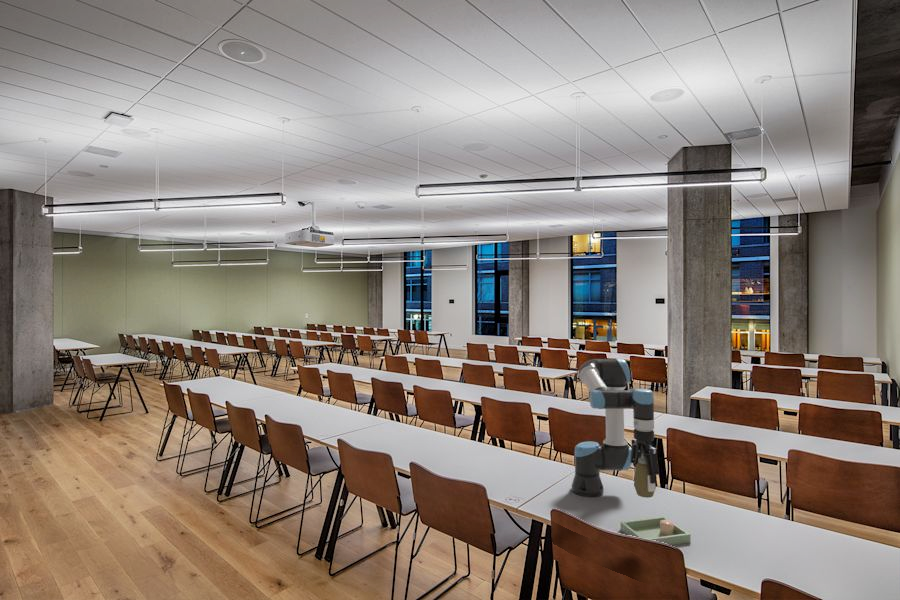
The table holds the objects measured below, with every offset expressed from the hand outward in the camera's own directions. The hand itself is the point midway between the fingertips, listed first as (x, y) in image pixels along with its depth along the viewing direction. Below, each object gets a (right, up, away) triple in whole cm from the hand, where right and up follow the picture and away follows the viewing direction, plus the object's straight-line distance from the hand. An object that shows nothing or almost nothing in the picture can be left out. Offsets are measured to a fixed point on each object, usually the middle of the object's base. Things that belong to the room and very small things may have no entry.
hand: (644, 486), depth 194 cm
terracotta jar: (+10, -19, +2) cm, 22 cm away
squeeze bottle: (0, -3, 0) cm, 3 cm away
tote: (+4, -20, +1) cm, 21 cm away
